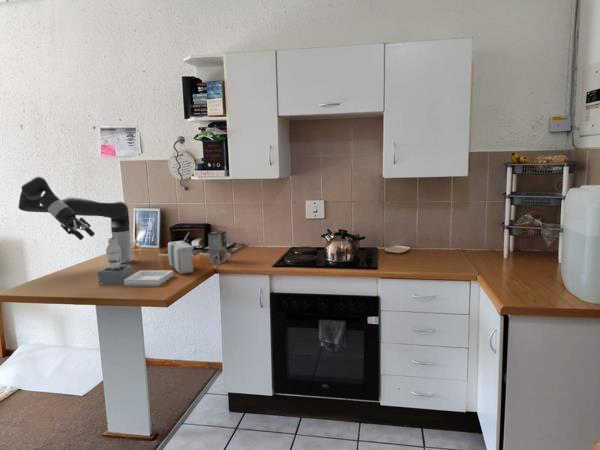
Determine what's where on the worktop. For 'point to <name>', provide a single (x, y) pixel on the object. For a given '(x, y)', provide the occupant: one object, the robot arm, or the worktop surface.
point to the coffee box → (217, 247)
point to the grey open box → (114, 275)
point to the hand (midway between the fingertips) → (87, 236)
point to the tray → (148, 278)
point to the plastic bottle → (114, 255)
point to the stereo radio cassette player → (180, 256)
